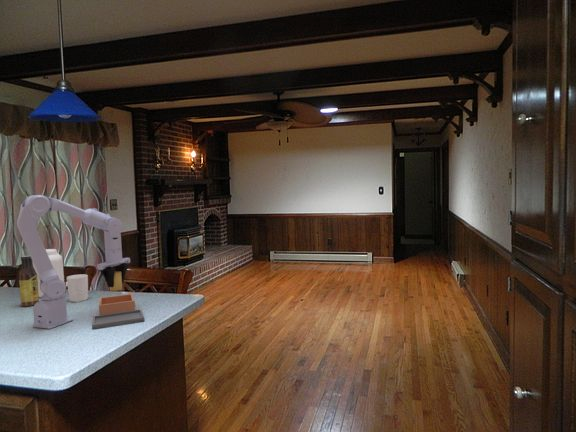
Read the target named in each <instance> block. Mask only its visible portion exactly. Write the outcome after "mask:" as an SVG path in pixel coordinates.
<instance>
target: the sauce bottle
mask: <svg viewBox="0 0 576 432" xmlns="http://www.w3.org/2000/svg"><path fill="white" fill-rule="evenodd" d="M20 261H21V269H20V271H19V274H18V275H19V276H18V277H19V280H18V283H19V294H20V305H21V306H22V307H32V306H33V307H34V305H35V304H36V303H37V302H39V301H40V298H39V293H38V279H37V273H36V271H35V269H34V267H33V262H32V259H31V256H30V255H23V256H20Z"/></svg>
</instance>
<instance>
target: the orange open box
mask: <svg viewBox="0 0 576 432" xmlns="http://www.w3.org/2000/svg"><path fill="white" fill-rule="evenodd" d="M98 310H99V311H98V312H99V314H98V315H104V314H111V313H119V312H126V311H133V310H136V301H135V297H134V294H133V293H128V294H120V295H111V296H105V297H99V299H98Z"/></svg>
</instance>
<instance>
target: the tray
mask: <svg viewBox="0 0 576 432" xmlns="http://www.w3.org/2000/svg"><path fill="white" fill-rule="evenodd" d="M142 322H145V315H144V313H143V310H142V309H135V310H133V311H126V312H119V313H111V314H104V315H99V314H97V315H93V316H92V322H91V323H92V324H91V326H92V328H91V329H92V330H98V329H103V328H104V329H105V328H110V327H118V326H123V325H130V324H135V323H136V324H137V323H142Z"/></svg>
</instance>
